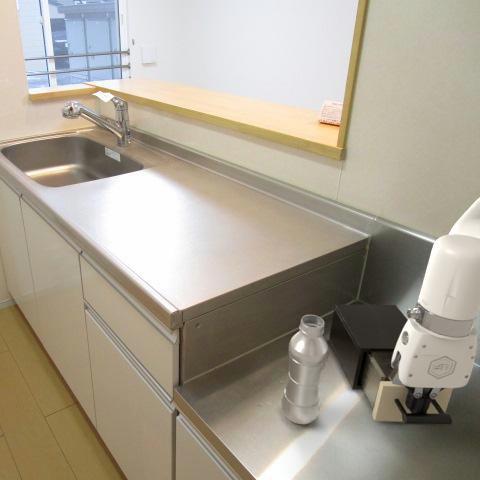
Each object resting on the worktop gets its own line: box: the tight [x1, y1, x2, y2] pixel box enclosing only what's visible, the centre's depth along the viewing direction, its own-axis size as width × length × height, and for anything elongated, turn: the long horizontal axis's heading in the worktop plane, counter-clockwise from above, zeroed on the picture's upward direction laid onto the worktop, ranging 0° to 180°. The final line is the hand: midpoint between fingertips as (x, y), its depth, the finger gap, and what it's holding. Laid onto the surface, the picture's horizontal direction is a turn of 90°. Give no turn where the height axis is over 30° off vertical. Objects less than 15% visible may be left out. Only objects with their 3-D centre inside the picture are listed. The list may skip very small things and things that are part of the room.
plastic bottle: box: [281, 314, 330, 425], centre depth 76 cm, size 6×7×20 cm
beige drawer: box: [358, 352, 454, 426], centre depth 79 cm, size 18×11×8 cm, turn 178°
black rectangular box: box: [328, 304, 409, 390], centre depth 90 cm, size 15×13×10 cm
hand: (415, 410), depth 74 cm, fingers closed
